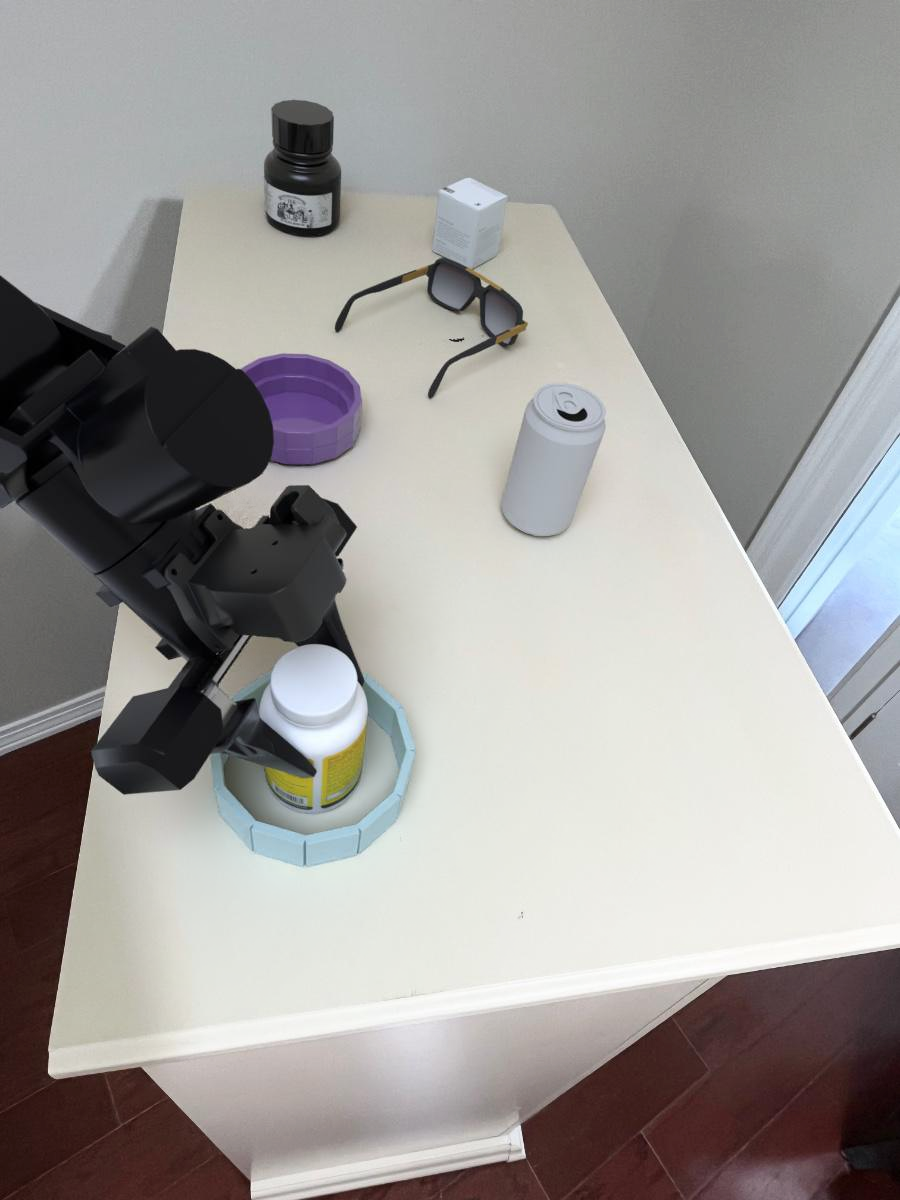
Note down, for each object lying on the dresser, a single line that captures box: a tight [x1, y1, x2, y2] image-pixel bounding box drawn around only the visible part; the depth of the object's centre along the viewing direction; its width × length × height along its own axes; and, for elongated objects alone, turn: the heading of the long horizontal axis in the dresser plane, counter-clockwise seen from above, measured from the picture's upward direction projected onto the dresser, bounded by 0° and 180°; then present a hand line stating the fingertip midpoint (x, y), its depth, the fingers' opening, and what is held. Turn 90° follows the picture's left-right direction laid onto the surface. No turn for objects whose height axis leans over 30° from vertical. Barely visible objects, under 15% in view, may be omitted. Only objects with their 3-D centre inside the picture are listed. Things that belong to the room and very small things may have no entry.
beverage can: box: [500, 382, 607, 537], centre depth 65 cm, size 6×6×12 cm
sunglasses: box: [334, 257, 529, 399], centre depth 82 cm, size 14×15×5 cm
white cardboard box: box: [431, 177, 509, 270], centre depth 94 cm, size 6×6×7 cm
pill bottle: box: [259, 644, 369, 814], centre depth 47 cm, size 6×6×11 cm
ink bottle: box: [263, 99, 342, 237], centre depth 92 cm, size 10×9×12 cm
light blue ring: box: [209, 669, 416, 868], centre depth 50 cm, size 12×12×4 cm
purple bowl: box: [240, 352, 363, 466], centre depth 71 cm, size 11×11×4 cm
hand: (335, 729), depth 46 cm, fingers closed on pill bottle, 6 cm apart
